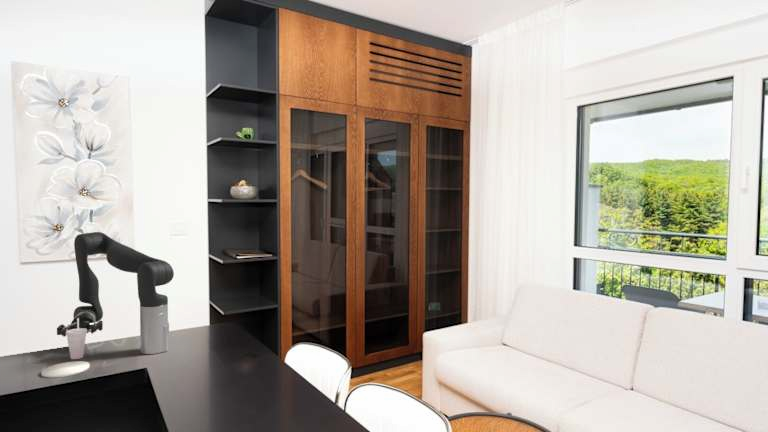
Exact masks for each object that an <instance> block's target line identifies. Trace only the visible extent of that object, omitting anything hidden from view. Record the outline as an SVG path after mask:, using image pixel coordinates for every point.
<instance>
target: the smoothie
mask: <svg viewBox="0 0 768 432" xmlns="http://www.w3.org/2000/svg"><path fill="white" fill-rule="evenodd" d="M87 334H88V333H87V329H86V328H79V318H77V329H71V330H68V331H66V338H67V344H68V345H67V346H68V351H69V355H70V357H69V358H70V359H71V360H77V359H82V358H84V353H85V344H86V336H87Z"/></svg>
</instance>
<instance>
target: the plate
mask: <svg viewBox="0 0 768 432" xmlns="http://www.w3.org/2000/svg"><path fill="white" fill-rule="evenodd" d="M90 366H91V365H90V362H88V361H77V360H74V361H67V362H62V363H55V364H54V365H50V366H48V367H46V368H44V369H42V370H41V371H40V373H41V374H40V375H41V377H43V378H49V379H51V378H52V379H53V378H54V379H55V378H56V379H58V378H63V377H70V376H74V375H77V374H81V373H84V372H85V371H88V370H89V369H90Z"/></svg>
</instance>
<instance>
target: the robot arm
mask: <svg viewBox="0 0 768 432" xmlns="http://www.w3.org/2000/svg"><path fill="white" fill-rule="evenodd" d="M73 243H74V245H73V247H74V253H75V254H74V255H75V263H76V269H77V273H78V282H79V283H78V300H79V302H80V303H84V304H89V305H81V306H77V307H76V308H75V309H74V311H73V319H72V321H71V322H70V324H68V325H64V324H59V326H58V327H56V335H57V336H60V335H61V337H63V338H65V337H67V335H66V331H68V330H71V329H77V318H79V328H86V329H87V333H86V334H88V333H91V335H93V334H94V333H96V332H97V331H103V327H104V326H103V325H104V323H103V320H102V318H103V316H104V311H103V308H102V305H101V302H100V295H99V294H100V293H99V292H100V291H99V290H100V282H99V279H98V277H97V276H96V274H95V273H94V272H93V269H91V267H90V265H89V262H88V258H89V256H95V255H100V254H101V255H102V254H103V255H106V260H107V263H108V264H109V265H110V266H112V267H114V268H115V269H117V270H119V271H123V272H126V273H133V274H136V282H137V283H136V285H137V296H138V299H139V320H140V321H139V323H140V324H139V325H140V327H139V328H140V329H139V330H140V331H139V333H140V334H139V336H140V337H139V339H140V341H139V342H140V349H139V350H140V353H141V354H143V355H153V354H154V355H155V354H159V353H166V352H168V350H169V348H170V323H169V318H168V317H169V304H168V303H169V302H168V296H167V295H165V294H160V293H157V289H156V287H159V286H164V285H167V284H169V283H170V282H172V280H173V279H174V269H173V267H172V265H171V264H170V263H168V262H167V261H165V260H162V259H158V258H155V257H152V256H149V255H147V254H145V253H143V252H141V251H139V250H136V249H135V248H132V247H130V246H127V245H125V244H122V243H120V242H119V241H116V240H115V239H113V238H111V237H110V236H109V235H107V234H106V233H104V232H101V231H94V232H87V233H79V234H77V235H76V236H75V238H74V242H73Z"/></svg>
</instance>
